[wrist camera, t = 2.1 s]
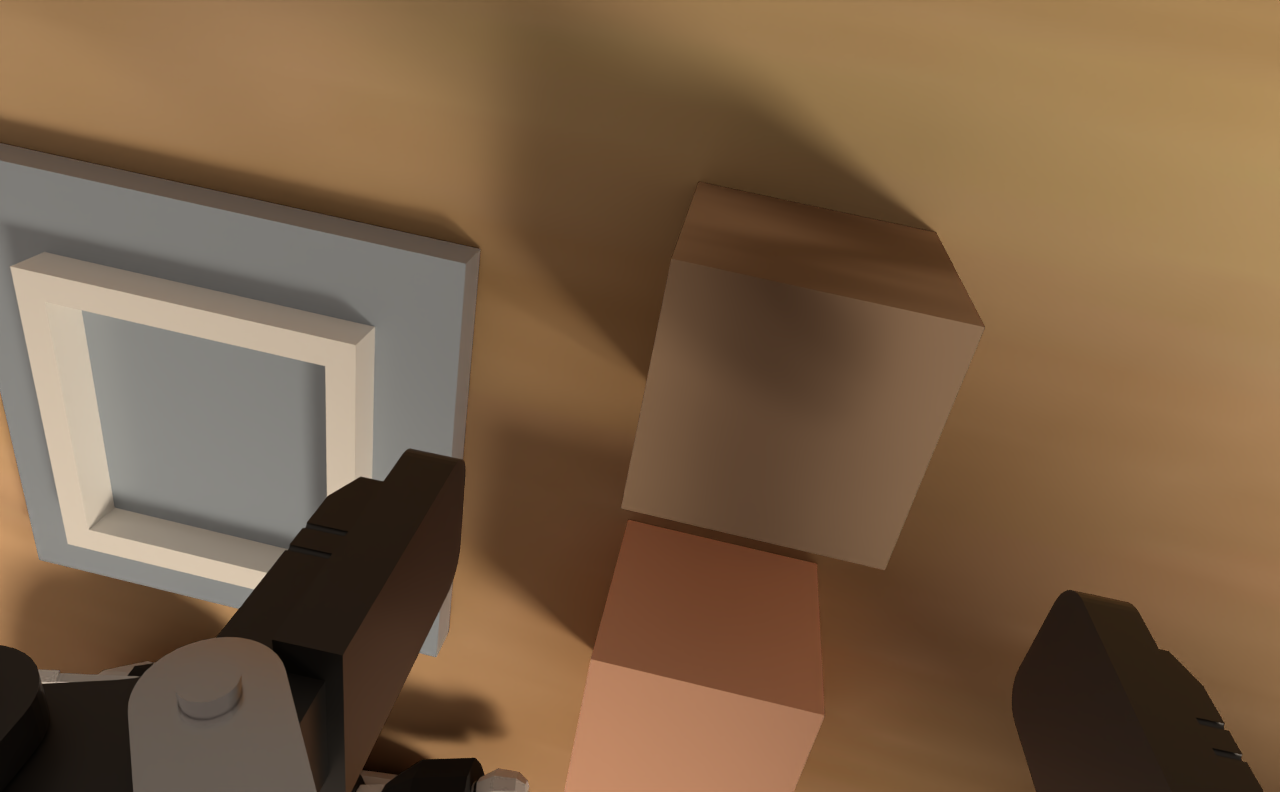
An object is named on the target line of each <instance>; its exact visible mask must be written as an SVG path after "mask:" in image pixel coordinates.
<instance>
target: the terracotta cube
mask: <svg viewBox="0 0 1280 792" xmlns="http://www.w3.org/2000/svg"><path fill="white" fill-rule="evenodd" d="M824 717H825V706H824V687H823V668H822V650H821V631H820V612H819V593H818V575H817V564H816V563H812V562H807V561H803V560H799V559H795V558H790V557H786V556H782V555H777V554H773V553H769V552H765V551H760V550H756V549H752V548H747V547H743V546H739V545H735V544H730V543H726V542H722V541H717V540H713V539H709V538H705V537H700V536H696V535H692V534H687V533H683V532H679V531H675V530H670V529H666V528H662V527H657V526H653V525H649V524H645V523H640V522H636V521H632V520H628V522H627V526H626V529H625V533H624V537H623V541H622V544H621V548H620V552H619V555H618V559H617V563H616V567H615V570H614V574H613V578H612V582H611V585H610V589H609V593H608V597H607V600H606V604H605V608H604V611H603V615H602V619H601V623H600V626H599V630H598V634H597V638H596V641H595V645H594V649H593V652H592V656H591V660H590V665H589V670H588V675H587V680H586V685H585V690H584V695H583V700H582V705H581V710H580V715H579V720H578V725H577V730H576V735H575V740H574V745H573V750H572V755H571V760H570V765H569V770H568V775H567V780H566V785H565V790H564V792H794V790H795V787H796V785H797V783H798V780H799V778H800V775H801V773H802V770H803V768H804V765H805V763H806V761H807V758H808V756H809V753H810V751H811V748H812V746H813V744H814V741H815V739H816V736H817V734H818V731H819V729H820V727H821V724H822V722H823V719H824Z"/></svg>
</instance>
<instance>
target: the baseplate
mask: <svg viewBox="0 0 1280 792" xmlns="http://www.w3.org/2000/svg"><path fill="white" fill-rule="evenodd" d="M479 261H480V249H478V248H474V247H469V246H465V245H460V244H456V243H451V242H447V241H442V240H438V239H433V238H428V237H424V236H419V235H415V234H410V233H406V232H401V231H397V230H392V229H388V228H383V227H379V226H374V225H370V224H365V223H361V222H356V221H351V220H347V219H342V218H338V217H333V216H329V215H324V214H320V213H315V212H311V211H306V210H302V209H297V208H293V207H288V206H284V205H279V204H274V203H270V202H265V201H261V200H256V199H252V198H247V197H243V196H238V195H234V194H229V193H225V192H220V191H216V190H211V189H206V188H202V187H197V186H193V185H188V184H184V183H179V182H175V181H170V180H166V179H161V178H157V177H152V176H148V175H143V174H139V173H134V172H129V171H125V170H120V169H116V168H111V167H107V166H102V165H98V164H93V163H89V162H84V161H80V160H75V159H71V158H66V157H62V156H57V155H52V154H48V153H43V152H39V151H34V150H30V149H25V148H21V147H16V146H12V145H7V144H3V143H0V392H1V397H2V401H3V405H4V410H5V414H6V418H7V423H8V427H9V431H10V436H11V440H12V444H13V449H14V453H15V457H16V462H17V466H18V470H19V474H20V479H21V483H22V487H23V492H24V496H25V500H26V505H27V509H28V513H29V518H30V522H31V526H32V531H33V535H34V539H35V544H36V548H37V552H38V557H39V560H42V561H46V562H50V563H54V564H58V565H62V566H66V567H71V568H75V569H79V570H83V571H87V572H91V573H95V574H99V575H103V576H107V577H111V578H115V579H119V580H124V581H128V582H132V583H136V584H140V585H144V586H148V587H152V588H156V589H160V590H164V591H168V592H173V593H177V594H181V595H185V596H189V597H193V598H197V599H201V600H205V601H209V602H213V603H217V604H221V605H226V606H230V607H234V608H238V609H239V608H240V607H241V606H242V604H243V603H244V602H245V600H246V599H247V598H248V597H249V595H250V594H251V593H252V592H253V590H254V589H255V588H256V586H257V585H258V584H259V583H260V581H261V580H262V579H263V578H264V576H265V575H266V574H267V572H268V571H269V570H270V569H271V567H272V566H273V565H274V564H275V562H276V561H277V560H278V558H279V557H280V556H281V555H282V553H283V552H284V551H285V550H288V549H289V546H290V543H291V542H292V541H293V539H294V538H295V537H296V535H297V534H298V533H299V532H300V530H301V529H302V528H305V527H306V525H307V521H308V520H309V519H310V518H311V516H312V515H313V514H314V513H315V511H316V510H317V509H318V507H319V506H320V505H321V504H322V502H323V501H324V500H325V499H326V497H327V496H328V495H330V494H332V493H333V492H335V491H337V490H338V489H340V488H342V487H344V486H345V485H347V484H349V483H350V482H352V481H354V480H355V479H357V478H359V477H365V478H370V479H375V480H379V481H384V480H385V478H386V477H387V475H388V474H389V473H390V471H391V470H392V468H393V467H394V465H395V464H396V463H397V461H398V460H399V458H400V457H401V456H402V454H403V453H404V452H405V451H406V450H407V449H409V448H411V449H416V450H421V451H425V452H430V453H435V454H439V455H444V456H449V457H454V458H458V459H463V453H464V441H465V429H466V417H467V405H468V393H469V381H470V369H471V357H472V345H473V333H474V321H475V309H476V297H477V285H478V273H479ZM452 585H453V582H452ZM452 585H451V587H450V590H449V592H448V594H447V597H446V599H445V601H444V603H443V605H442V607H441V609H440V611H439V613H438V615H437V617H436V619H435V621H434V623H433V625H432V627H431V629H430V631H429V634H428V636H427V638H426V640H425V642H424V644H423V646H422V648H421V650H420V652H419V653H421V654H425V655H430V656H434V657H437V655H438V653H439V651H440V649H441V647H442V645H443V643H444V641H445V639H446V636H447V634H448V632H449V621H450V609H451V597H452Z"/></svg>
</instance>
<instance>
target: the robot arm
mask: <svg viewBox="0 0 1280 792" xmlns="http://www.w3.org/2000/svg"><path fill="white" fill-rule="evenodd" d="M464 485H465V463H464V460H463V459H458V458H454V457H449V456H444V455H439V454H435V453H430V452H425V451H421V450H416V449H411V448H409V449H407V450H406V451H405V452H404V453H403V454H402V456H401V457H400V458H399V460H398V461H397V463H396V464H395V465H394V467H393V468H392V470H391V471H390V473H389V474H388V475H387V477H386V478H385V480H384V481H379V480H375V479H370V478H365V477H359V478H357V479H355V480H354V481H352V482H350V483H349V484H347V485H345V486H344V487H342V488H340V489H338V490H337V491H335V492H333V493H332V494H330V495H328V496H327V497H326V499H325V500H324V501H323V502H322V504H321V505H320V506H319V507H318V509H317V510H316V511H315V513H314V514H313V515H312V516H311V518H310V519H309V520H308V521H307V525H306V527H305V528H302V529H301V530H300V532H299V533H298V534H297V535H296V537H295V538H294V539H293V541H292V542H291V543H290V546H289V549H288V550H285V551H284V552H283V553H282V555H281V556H280V557H279V558H278V560H277V561H276V562H275V564H274V565H273V566H272V567H271V569H270V570H269V571H268V572H267V574H266V575H265V576H264V578H263V579H262V580H261V581H260V583H259V584H258V585H257V586H256V588H255V589H254V590H253V592H252V593H251V594H250V595H249V597H248V598H247V599H246V600H245V602H244V603H243V604H242V606H241V607H240V608H239V609H238V611H237V612H236V613H235V614H234V616H233V617H232V618H231V620H230V621H229V622H228V623H227V625H226V626H225V627H224V628H223V630H222V631H221V632H220V633H219V635H218V636H217V637H216V638H211V639H206V640H201V641H197V642H194V643H191V644H188V645H185V646H183V647H181V648H178V649H176V650H174V651H172V652H171V653H169V654H167V655H165V656H164V657H162V658H161V659H160V660H158V661H157V662H155V663H154V664H153V665H152V666H151V667H150V668H149V669H148V670H147V671H146V672H144V674H143V675H142V676H141V677H136V678H130V679H120V680H103V681H84V682H65V683H46V684H42V682H41V678H40V675H39V672H38V669H37V666H36V664H35V663H34V662H33V660H32V659H31V658H30V657H29V656H27V655H26V654H25V653H23V652H21V651H19V650H17V649H14V648H10V647H6V646H1V645H0V792H351V791H352V789H353V787H354V785H355V783H356V781H357V779H358V777H359V775H360V773H361V771H362V769H363V767H364V765H365V763H366V761H367V759H368V757H369V755H370V752H371V750H372V748H373V746H374V744H375V742H376V740H377V738H378V736H379V734H380V732H381V730H382V728H383V726H384V724H385V722H386V720H387V718H388V716H389V714H390V711H391V709H392V707H393V705H394V703H395V701H396V699H397V697H398V695H399V693H400V691H401V689H402V687H403V685H404V683H405V681H406V679H407V677H408V675H409V673H410V670H411V668H412V666H413V664H414V662H415V660H416V658H417V656H418V654H419V652H420V650H421V648H422V646H423V644H424V642H425V640H426V638H427V636H428V634H429V631H430V629H431V627H432V625H433V623H434V621H435V619H436V617H437V615H438V613H439V611H440V609H441V607H442V605H443V603H444V601H445V599H446V597H447V594H448V592H449V590H450V587H451V585H452V582H453V579H454V575H455V572H456V568H457V564H458V559H459V553H460V543H461V529H462V514H463V500H464ZM1012 711H1013V717H1014V721H1015V725H1016V728H1017V731H1018V734H1019V738H1020V741H1021V744H1022V747H1023V751H1024V754H1025V757H1026V760H1027V764H1028V767H1029V770H1030V773H1031V776H1032V780H1033V783H1034V786H1035V789H1036V792H1263V790H1262V788H1261V786H1260V785H1259V783H1258V781H1257V779H1256V778H1255V776H1254V774H1253V772H1252V771H1251V769H1250V767H1249V765H1248V764H1247V762H1243V761H1242V760H1241V756H1242V753H1241V751H1240V750H1239V748H1238V746H1237V744H1236V743H1235V741H1234V739H1233V737H1232V736H1231V734H1230V732H1229V731H1226V730H1224V724H1225V723H1224V722H1223V720H1222V718H1221V716H1220V715H1219V713H1218V711H1217V710H1216V708H1215V706H1214V704H1213V703H1212V701H1211V699H1210V697H1209V696H1208V694H1207V692H1206V690H1205V689H1204V687H1203V686H1202V685H1201V684H1200V683H1199V682H1198V681H1197V680H1196V679H1195V678H1194V677H1193V676H1192V675H1191V673H1190V672H1189V671H1188V670H1187V669H1186V668H1185V667H1184V666H1183V665H1182V664H1181V663H1180V662H1179V661H1178V660H1177V659H1176V658H1175V657H1174V656H1173V655H1172V654H1171V653H1170V652H1169V651H1165V650H1160V649H1158V647H1157V645H1156V643H1155V641H1154V639H1153V638H1152V636H1151V634H1150V632H1149V630H1148V628H1147V626H1146V625H1145V623H1144V621H1143V619H1142V617H1141V615H1140V614H1139V612H1138V610H1137V609H1136V608H1135V607H1134V606H1133V605H1132V604H1130V603H1128V602H1124V601H1120V600H1115V599H1110V598H1105V597H1101V596H1096V595H1091V594H1087V593H1082V592H1077V591H1072V590H1067V591H1065V592H1063V593H1062V594H1061V595H1060V596H1059V597H1058V598H1057V600H1056V601H1055V603H1054V605H1053V606H1052V608H1051V610H1050V612H1049V614H1048V616H1047V617H1046V619H1045V621H1044V623H1043V625H1042V627H1041V629H1040V630H1039V632H1038V634H1037V636H1036V638H1035V640H1034V642H1033V643H1032V645H1031V647H1030V649H1029V651H1028V653H1027V654H1026V656H1025V658H1024V660H1023V662H1022V664H1021V666H1020V667H1019V670H1018V672H1017V674H1016V677H1015V681H1014V685H1013V692H1012Z"/></svg>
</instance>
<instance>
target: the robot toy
mask: <svg viewBox="0 0 1280 792" xmlns="http://www.w3.org/2000/svg"><path fill="white" fill-rule="evenodd" d="M153 664H154V663H153V662H149V661H146V662H141V663H136V664H131V665H126V666H121V667H116V668H111V669H106V670H103V671H102V672H100V673H99V674H97V675H94V674H71V673H60V670H41V669H39V670H38V672H39V675H40V678H41V682H42V684H46V683H65V682H84V681H103V680H120V679H130V678H136V677H141V676H142V675H143V674H144V672H146V671H147V670H148V669H149V668H150V667H151V666H152V665H153ZM528 789H529V784H528V781H527V779H526V778H525V777H524V776H523V775H522V774H521V773H520V772H516V771H510V770H504V769H499V768H498V769H496V770H494V771H492V772H490V773H488V774H486V775H484V772H483V769H482V766H481V764H480V763H479V761H478V760H477V759H476V758H458V759H426V760H421V761H420V762H418V763H416V764H415V765H413V766H411V767H410V768H408V769H407V770H405V771H403V772H401V773H400V774H399V775H394V774H387V773H380V772H373V771H363V770H362V771H361V773H360V775H359V777H358V779H357V781H356V783H355V785H354V787H353V789H352V791H351V792H528Z"/></svg>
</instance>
